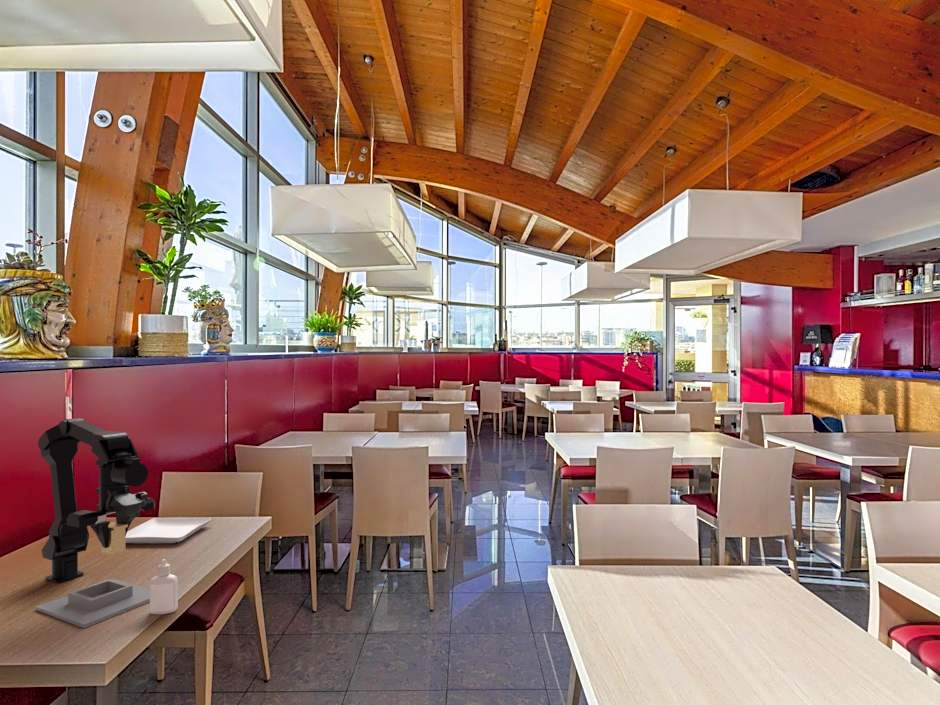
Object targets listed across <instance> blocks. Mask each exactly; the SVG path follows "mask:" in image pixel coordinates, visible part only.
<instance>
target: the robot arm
mask: <svg viewBox="0 0 940 705" xmlns="http://www.w3.org/2000/svg"><path fill="white" fill-rule="evenodd" d="M81 442H82V443H84V444H86V445H88V446H90V447H91V449H90V450H91V452H92V453H93V454H94V455H95V456H96V457H97V460H96V461H95V462H94V465H96V466H98V476H99V477H98V487H96V488H95V492H96V493H97V494H98V493H99V495H98V498H99V499H98V502H99V504H96V505H95V508H96V511H93V510H87V509H84V510H83V509H82V510H79V511H78V507H77V506H78V505H77V497H76V489H75V487H76V486H75V478H74V467H73V461H74V459H75V457H76V456H77V454H78V452H79V444H80V443H81ZM37 446H38V449H39V450H40V454H41V457H42V459H43V460H44V461H45V462H46V463H47V464H48V465H49V468H50V470H49V471H50V478H51V488H52V497H53V506H54V507H53V508H54V516H55V517H54V520H53V523H52V524H51V526H50V528H49V530H48V538H47V541H46V543H44V545H43V547H42V549H41V554H42V555H41V556H42V558H43V559H47V560H50V561H51V574H50V575H48V576H45V580H48V581H51V582H54V583H57V584H58V583H62V582H65V581H68V580H71V579H73V578H74V579H75V578H77V577H81V576H83V575H84V574H85V572H83V571H80V570H79V565H78V564H79V554H78V553H81V552H85V551H87V548H88V545H89V544H88V543H89V540H90V532H89V530H88V527H90V528H91V529H92V530H93V532H94V533H95V535H96V537H97V538H98V541H99V543H100V544H101V547H102V546H103V548H107V547H108V526H109V524H110V522H111V521H108V520H107V517H110V516H114V515H115V522H117V523H123V524H128V527H126V528H125V536H126V534H127V531H129V528H130V526H131V524H132V522H133V521H134V520H135V519H136V518H137V517H139V516H140V515H141V513H140V512H141V511H143V512H147V511H150V510H154V509H155V508H156V507H155V506H156V503H155V500H154V498H152V497H148V493H147V492H146V491H141V492H137V493H134V494H133V493H132V492H131V488H130V487H133V488H134V487H135V488H136V487H140V486H142V485H143V484H144V483H145V482H146V481H147V479H148V478H149V470H148V468H147V466H146V465H145V464H143V463H141V458H139V455H138V450H137V449H136V447H135V445H134V443H133V441H132V439H131V437H130V435H129V434H127V432H124V431H118V430H117V431H116V430H105V429H103V428H100V426H99V427H98V426H97V425H95V424H93V423H90V422H88V421H86V419H85V418H81V417H78V418H77V417H76V418H75V417H74V418H67V419H66V418H65V419H63V420H61V421H60V422H59V423H58V424H57V425H55V426H53V427H50V428H49V429H47V430H46V431H45V432H44V433H43V434H42V435H41V436H40V437H39V439H38V440H37Z"/></svg>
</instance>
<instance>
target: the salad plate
mask: <svg viewBox="0 0 940 705" xmlns="http://www.w3.org/2000/svg"><path fill="white" fill-rule="evenodd" d="M211 521H212V518H211V517H154V518H151V519H149V520H147V521H145V522H143V523H141V524H139V525H137V526H135V527H133V528H132V529H130V530H129V529H128V531H127V534H126V536H125V544H175V543H176V542H177V543H180V542H181V541H183V540H185V539H186V538H189V537H190V536H191V535H193V534H195V533H196V532H197V531H199V530H201V529H203V528H204V527H206V526H207V525H208V524H209V523H210V522H211Z"/></svg>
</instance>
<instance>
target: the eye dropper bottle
mask: <svg viewBox="0 0 940 705" xmlns="http://www.w3.org/2000/svg"><path fill="white" fill-rule="evenodd" d="M170 567H171V564H170V563H168V562H167V560H166V558H163V559H161V563H160V564H159V565H158V566H157V575H155V576H153V577H152V578H151V580H150V582H149V589H150V602H149V613H150V614H151V615H166V614H167V615H168V614H173V613H174V612H176V611H177V610H178V608H179V605H178V604H179V601H178V600H179V597H178V595H179V594H178V592H179V590H178V589H179V587H178V586H179V585H178V583H179V582H178V580H179V579H178V577H177V575H174V574H172V573H170V569H171V568H170Z"/></svg>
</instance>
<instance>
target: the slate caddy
mask: <svg viewBox="0 0 940 705" xmlns="http://www.w3.org/2000/svg"><path fill="white" fill-rule="evenodd" d="M149 603H150V588H146V587H144V586H140V585H136V584H132V583H129V582H126V581H124V580H123V581H122V580H119V579H112V578H108V579H106V580H103V581H100V582H97V583H94V584H91V585H88V586H85V587H82V588H79V589H76V590H73V591H71V592H68V593H67V595H65V596H63V597H59V598H56V599H53V600H51V601H48V602H45V603H41V604H39V605H37V606H35V610H36V611H38V612H40V613H42V614H45V615H48V616H50V617H54V618H56V619H58V620H61V621H64V622H66V623H69V624H71V625H74V626H76V627H79V628H82V629H85V628H89V627H91V626H93V625H95V624H98V623H101V622H103V621H106V620H108V619H112V618H113V617H115V616H118V615H121V614H123V613H125V612H128V611H131V610H133V609H135V608H137V607H140V606H142V605H145V604H149Z"/></svg>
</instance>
